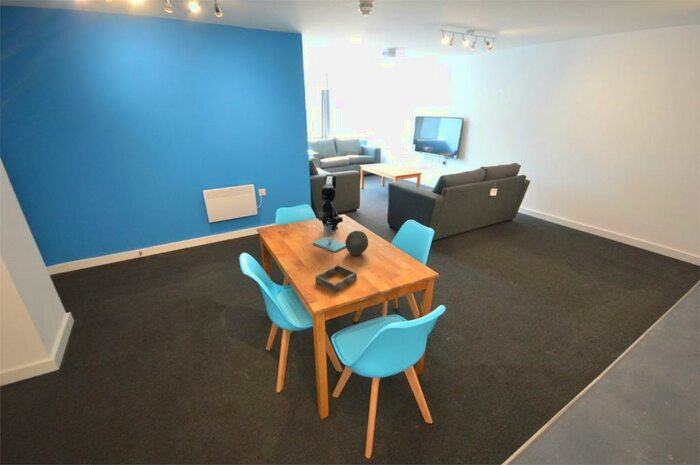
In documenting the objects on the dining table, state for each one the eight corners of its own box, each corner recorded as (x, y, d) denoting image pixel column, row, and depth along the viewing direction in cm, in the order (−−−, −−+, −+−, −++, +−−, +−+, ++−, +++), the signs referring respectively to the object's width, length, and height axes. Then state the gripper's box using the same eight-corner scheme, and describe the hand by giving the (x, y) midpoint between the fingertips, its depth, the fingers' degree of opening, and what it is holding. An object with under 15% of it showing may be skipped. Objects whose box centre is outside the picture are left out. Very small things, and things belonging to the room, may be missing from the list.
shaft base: (325, 238, 207) (325, 231, 205) (347, 246, 195) (347, 239, 193) (312, 244, 199) (312, 236, 197) (334, 252, 186) (334, 245, 185)
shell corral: (337, 271, 165) (337, 264, 163) (356, 279, 157) (356, 272, 155) (315, 283, 153) (315, 276, 152) (334, 292, 145) (334, 285, 144)
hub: (329, 228, 198) (329, 221, 196) (337, 231, 193) (337, 224, 192) (321, 231, 193) (321, 224, 191) (329, 234, 188) (329, 227, 187)
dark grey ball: (341, 256, 181) (340, 233, 176) (351, 247, 193) (351, 226, 187) (362, 261, 175) (362, 238, 170) (372, 252, 187) (372, 230, 181)
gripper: (309, 206, 187) (310, 230, 193) (330, 212, 176) (331, 237, 181) (321, 202, 195) (322, 225, 201) (343, 208, 183) (343, 232, 189)
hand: (329, 230), depth 193 cm, fingers closed on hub, 7 cm apart
